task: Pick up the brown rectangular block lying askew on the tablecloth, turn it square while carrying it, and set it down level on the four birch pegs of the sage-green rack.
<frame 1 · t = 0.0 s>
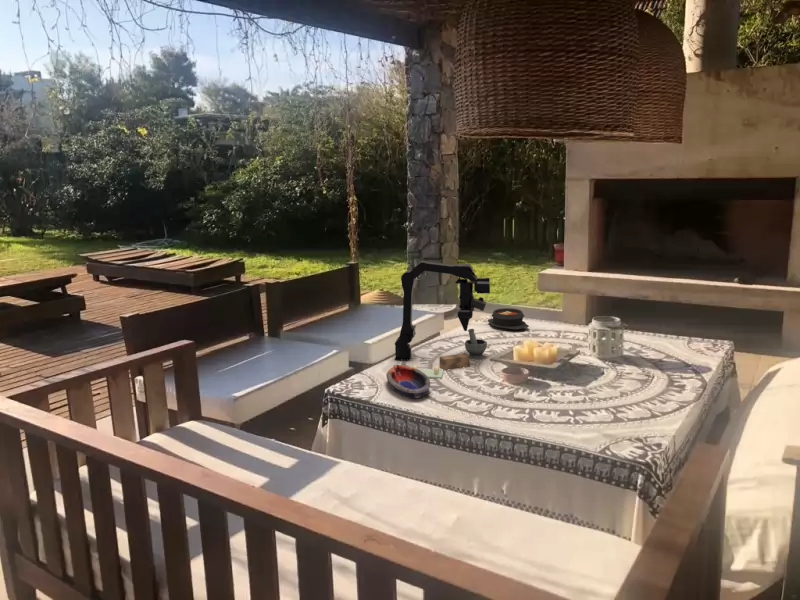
hand: (466, 328, 282), 15 cm above the table, tool pointing down, fingers open, 9 cm apart
mortar and pestle: (475, 356, 291), on the table
dish: (408, 387, 253), on the table, touching rack
casserole: (507, 327, 340), on the table
rack: (425, 374, 268), on the table
brown rectangular block: (454, 367, 277), on the table
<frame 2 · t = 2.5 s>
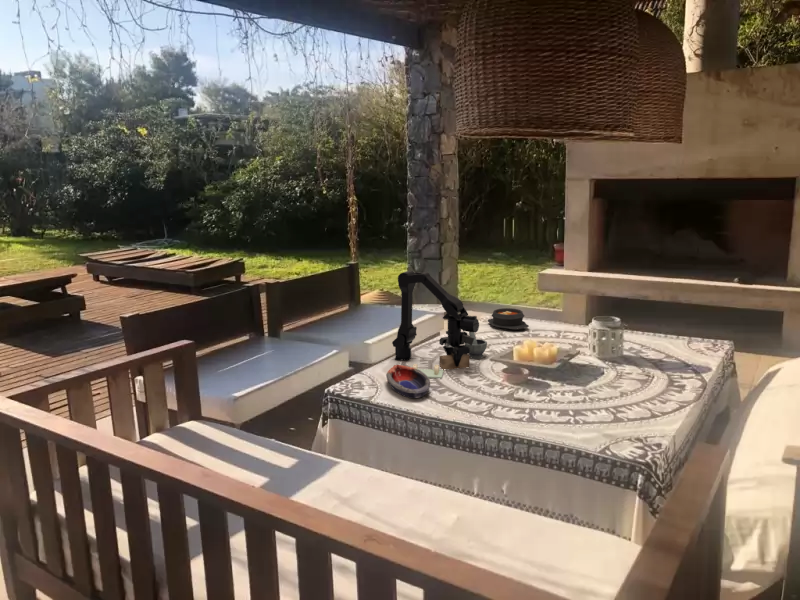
hand: (454, 364, 276), 1 cm above the table, tool pointing down, fingers closed on brown rectangular block, 5 cm apart
brown rectangular block: (454, 367, 277), on the table, touching gripper
everything else where it was.
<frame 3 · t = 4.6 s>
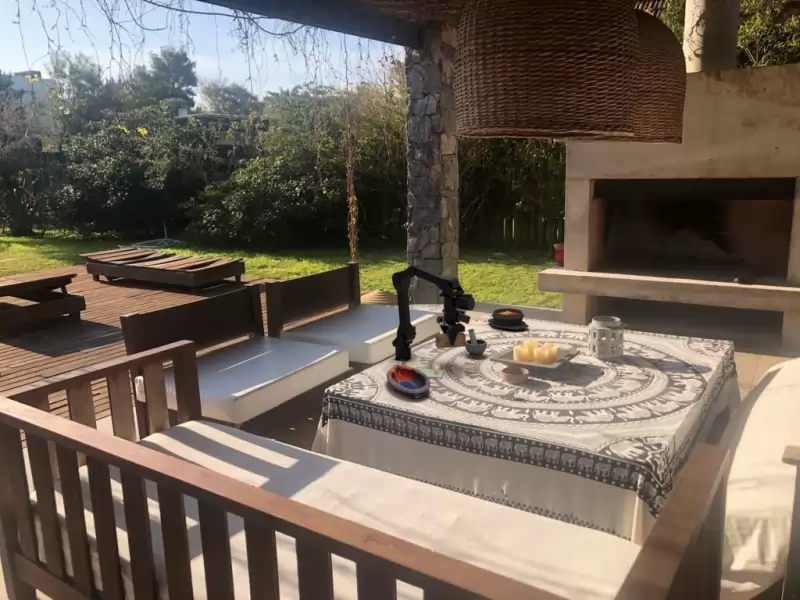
hand: (450, 343, 273), 11 cm above the table, tool pointing down, fingers closed on brown rectangular block, 5 cm apart
brown rectangular block: (450, 345, 273), point 10 cm above the table, touching gripper
everything else where it was.
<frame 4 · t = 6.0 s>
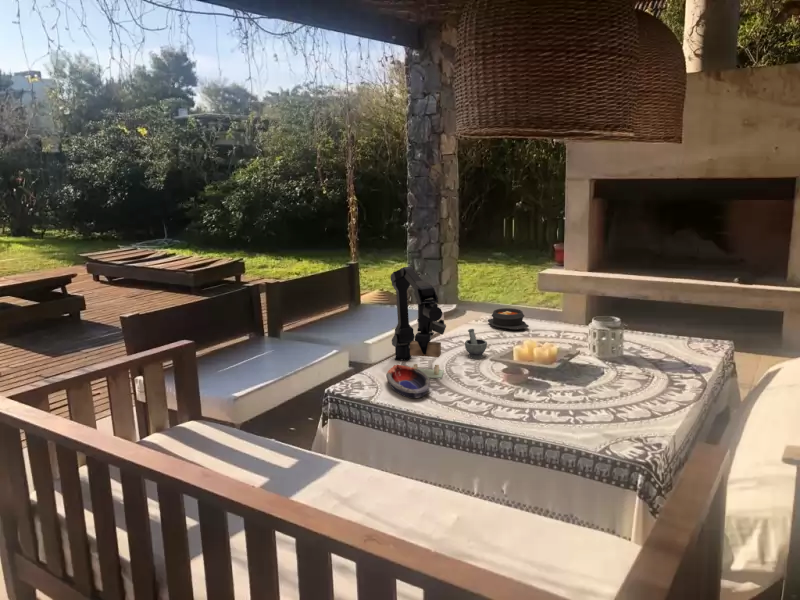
hand: (425, 352, 266), 10 cm above the table, tool pointing down, fingers closed on brown rectangular block, 5 cm apart
brown rectangular block: (425, 354, 266), point 9 cm above the table, touching gripper
everything else where it was.
when the fingers open (6 cm above the table, at t = 7.1 s): brown rectangular block drops 1 cm, resting on rack.
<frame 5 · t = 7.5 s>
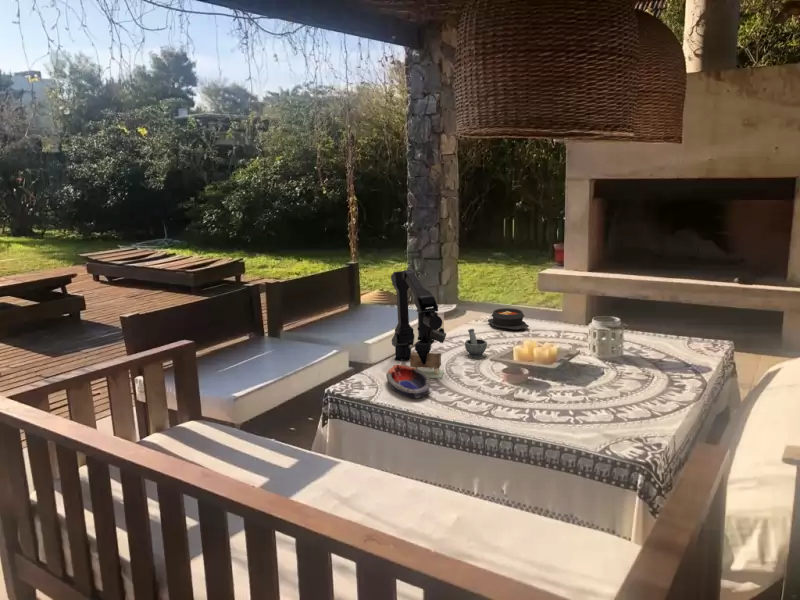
hand: (425, 360, 267), 6 cm above the table, tool pointing down, fingers open, 9 cm apart
brown rectangular block: (425, 365, 267), point 4 cm above the table, touching rack
everything else where it was.
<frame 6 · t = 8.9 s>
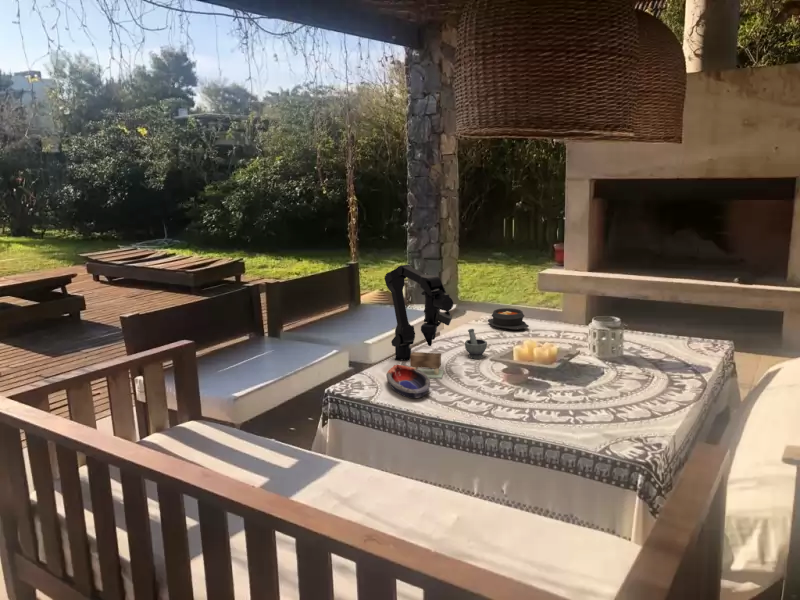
hand: (431, 342, 272), 12 cm above the table, tool pointing down, fingers open, 9 cm apart
nothing on the table moved.
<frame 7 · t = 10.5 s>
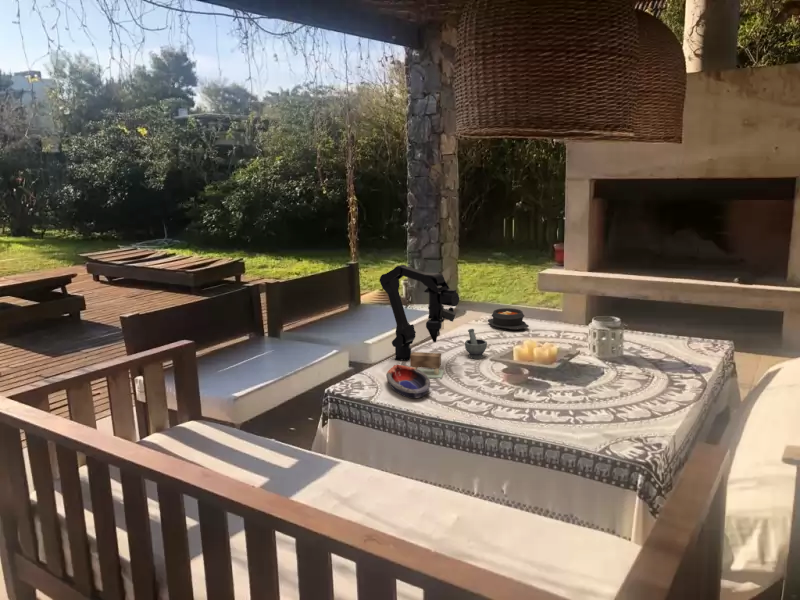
hand: (435, 339, 276), 12 cm above the table, tool pointing down, fingers open, 9 cm apart
nothing on the table moved.
at the end: brown rectangular block 0.1 cm off-centre on the rack, point 3.8 cm above the rack's base; brown rectangular block tilted 0°; the gripper is holding nothing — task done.
